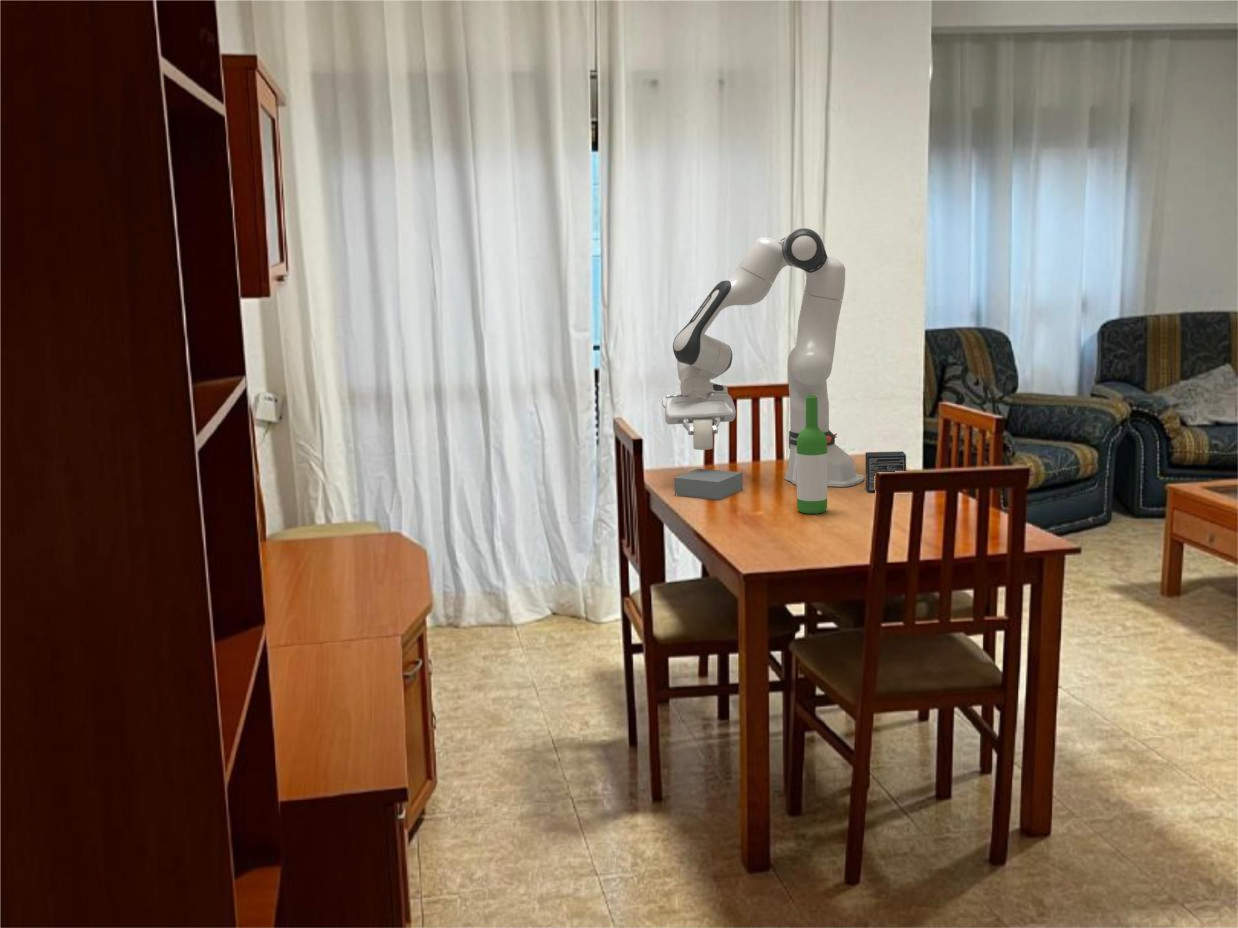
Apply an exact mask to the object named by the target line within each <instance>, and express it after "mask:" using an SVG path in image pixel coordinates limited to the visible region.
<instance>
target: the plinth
mask: <svg viewBox="0 0 1238 928" xmlns="http://www.w3.org/2000/svg"><path fill="white" fill-rule="evenodd" d="M673 482H674V483H673V485H674V489H673V490H674V496H676V494H677V495H681V496H680V497H685V496H690V497H689V498H695V497H696V498H697V499H704V498H705V499H707V500H714V501H720V500H722V499H725V498H727V497H729V496H731V495H734V494H736V493H738V492H741V491H743V490H744V488H743V487H744V486H743V471H742V472H740V471H729V470H719V469H709V468H696V469H694V470H691V471H689V472H686V473H683V474H680V475H678V476H676V477H673ZM696 498H695V499H696Z"/></svg>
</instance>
